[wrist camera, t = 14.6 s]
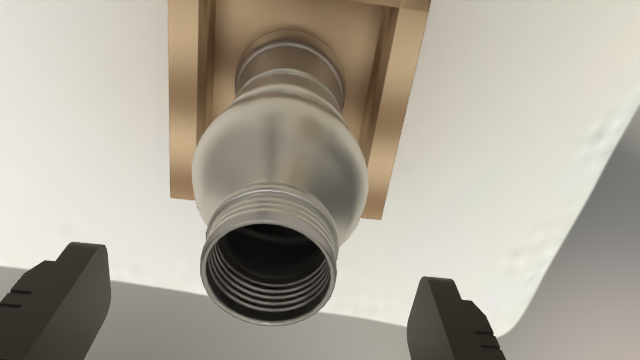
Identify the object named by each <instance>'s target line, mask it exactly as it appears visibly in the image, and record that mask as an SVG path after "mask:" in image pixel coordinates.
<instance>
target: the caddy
mask: <svg viewBox="0 0 640 360" xmlns="http://www.w3.org/2000/svg"><path fill="white" fill-rule="evenodd" d="M430 4H431V0H168V51H169V133H170V198H177V199H187V200H195V196H194V191H193V184H192V162H193V157H194V153H195V149H196V147H197V145H198V143H199V141H200V139H201V137H202V135H203V134H204V132H205V131H206V130H207V128H208V127H209V126H210V124H211V123H212V122H213V121H214V119H215V118H216V117H217V116H218V115H219V114H220V113H221V112H222V111H223V110H224V109H226V108H227V107H228V106H229V105H230V104H231V103H232V102H233V100H234V99H235V97H236V96H235V73H236V68H237V64H238V62H239V60H240V58H241V56H242V54H243V52H244V51H245V50H246V49H247V47H248V46H249V45H250V44H251V43H253V42H254V41H255V40H256V39H257V38H259V37H261V36H263V35H265V34H267V33H271V32H274V31H278V30H297V31H302V32H304V33H307V34H310V35H312V36H314V37H315V38H317V39H319V40H320V41H322V42H323V43H324V44H325V45H326V46H327V47H329V48H330V49H331V50H332V52H333V53H334V54H335V56H336V57H337V58H338V60H339V62H340V64H341V66H342V69H343V72H344V76H345V82H346V94H345V101H344V107H343V110H342V112H341V114H342V117H343V119H344V121H345V123H346V124H347V126H348V127H349V129H350V130H351V132H352V133H353V135H354V137H355V139H356V141H357V142H358V144H359V146H360V149H361V151H362V154H363V156H364V159H365V163H366V166H367V170H368V181H369V189H368V195H367V200H366V204H365V207H364V210H363V213H362V215H361V217H360V218H366V219H376V220H381V218H382V213H383V209H384V205H385V200H386V196H387V191H388V187H389V183H390V178H391V174H392V170H393V165H394V161H395V157H396V152H397V148H398V143H399V139H400V135H401V130H402V126H403V122H404V117H405V113H406V108H407V104H408V100H409V95H410V91H411V87H412V82H413V78H414V73H415V69H416V65H417V60H418V56H419V52H420V47H421V43H422V39H423V34H424V30H425V25H426V21H427V17H428V12H429V8H430Z"/></svg>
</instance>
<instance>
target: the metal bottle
mask: <svg viewBox="0 0 640 360" xmlns="http://www.w3.org/2000/svg"><path fill="white" fill-rule="evenodd" d="M345 94H346V82H345V76H344V72H343V69H342V66H341V64H340V62H339V60H338V58H337V57H336V56H335V54H334V53H333V52H332V50H331V49H330V48H329V47H327V46H326V45H325V44H324V43H323V42H322V41H320V40H319V39H317V38H315V37H314V36H312V35H310V34H307V33H304V32H302V31H297V30H278V31H274V32H271V33H267V34H265V35H263V36H261V37H259V38H257V39H256V40H255V41H254V42H253V43H251V44H250V45H249V46H248V47H247V49H246V50H245V51H244V52H243V54H242V56H241V58H240V60H239V62H238V64H237V68H236V73H235V96H236V97H235V99H234V100H233V102H232V103H231V104H230V105H229V106H228V107H227V108H226V109H224V110H223V111H222V112H221V113H220V114H219V115H218V116H217V117H216V118H215V119H214V121H213V122H212V123H211V124H210V126H209V127H208V128H207V130H206V131H205V132H204V134H203V135H202V137H201V139H200V141H199V143H198V145H197V147H196V149H195V153H194V157H193V162H192V184H193V191H194V196H195V200H196V204H197V208H198V210H199V212H200V214H201V216H202V219H203V221H204V222H205V224H206V225H207V226H208V228H207V232H206V242H205V245H204V247H203V251H202V255H201V263H200V275H201V278H202V282H203V285H204V287H205V289H206V291H207V293H208V295H209V296H210V297H211V298H212V300H213V301H214V302H215V303H216V304H217V305H218V306H219V307H220V308H221V309H223V310H224V311H225V312H227V313H228V314H230V315H232V316H233V317H235V318H238V319H240V320H242V321H245V322H248V323H252V324H256V325H262V326H285V325H289V324H294V323H297V322H300V321H303V320H305V319H307V318H309V317H311V316H312V315H314V314H316V313H317V312H318V311H319V310H320V309H321V308H323V307H324V305H325V304H326V303H327V301H328V300H329V299H330V297H331V295H332V292H333V290H334V286H335V282H336V275H337V269H336V260H337V256H338V249H339V247H340V246H341V245H342V244H343V243H344V242H345V241H346V240H347V239H348V238H349V237H350V235H351V234H352V232H353V231H354V230H355V228H356V227H357V225H358V222H359V220H360V217H361V215H362V213H363V210H364V207H365V204H366V200H367V195H368V189H369V181H368V170H367V166H366V163H365V159H364V156H363V154H362V151H361V149H360V146H359V144H358V142H357V141H356V139H355V137H354V135H353V133H352V132H351V130H350V129H349V127H348V126H347V124H346V123H345V121H344V119H343V117H342V114H341V112H342V110H343V107H344V101H345Z"/></svg>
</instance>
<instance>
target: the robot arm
mask: <svg viewBox="0 0 640 360" xmlns="http://www.w3.org/2000/svg"><path fill="white" fill-rule="evenodd" d="M110 300H111V287H110V276H109V265H108V254H107V249H106V246H105V245H101V244H91V243H80V242H71V243H69V244H68V246H67V247H66V248H65V249H64V251H63V252H62V253H61V255H60V256H59V257H58V259H57V260H56V261H46V260H45V261H43V262H41V263H40V264H38V265H37V266H35V267H34V268H32V269H30V270H29V271H27V272H26V273H24V274H23V276H22V277H21V278H20V279H19V280H18V282H17V283H16V284H15V285H14V286H13V288H12V289H11V292H10V293H8V294H7V295H6V296H5V297H4V299H3V300H2V301H1V302H0V360H84V358H85V356H86V354H87V352H88V350H89V349H90V347H91V345H92V343H93V341H94V339H95V337H96V335H97V333H98V331H99V329H100V328H101V326H102V324H103V322H104V320H105V318H106V316H107V313H108V310H109V306H110ZM407 342H408V347H409V351H410V355H411V359H412V360H506V359H505V357H504V354H503V352H502V350H500V346H499V344H498V341H497V339H496V337H495V336H493V330H492V328H491V326H490V324H489V322H488V320H487V317H486V316H485V315H484V314H483V312H482V311H481V310H480V309H479V308H478V307H477V306H476V305H475V304H474V303H473V302H472V301H469V300H462V299H461V297H460V294H459V292H458V289H457V287H456V285H455V282H454V281H453V280H452V279H447V278H436V277H426V276H424V277H422V278H421V280H420V282H419V286H418V289H417V292H416V296H415V299H414V302H413V306H412V309H411V312H410V316H409V319H408V324H407Z"/></svg>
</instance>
